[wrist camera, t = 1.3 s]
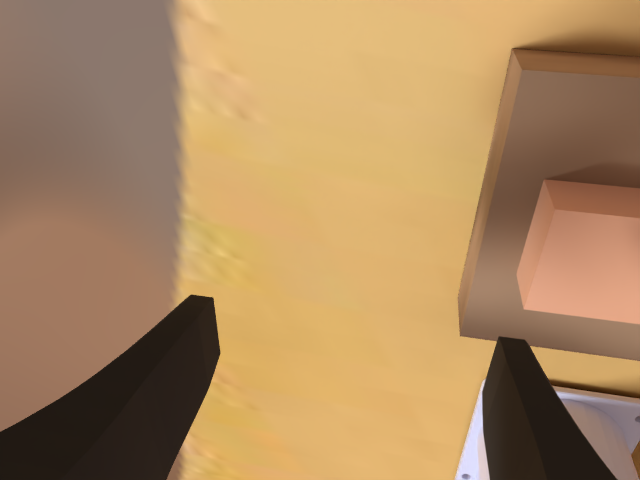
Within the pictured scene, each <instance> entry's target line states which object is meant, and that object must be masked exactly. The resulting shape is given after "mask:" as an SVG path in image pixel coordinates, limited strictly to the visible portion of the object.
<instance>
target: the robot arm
mask: <svg viewBox="0 0 640 480" xmlns="http://www.w3.org/2000/svg"><path fill="white" fill-rule="evenodd" d="M219 356H220V346H219V339H218V331H217V323H216V315H215V307H214V299H213V298H212V297H205V296H197V295H190V296H189V297H187V298H186V299H185V300H184V301H183V302H182V303H181V304H179V305H178V306H177V307H176V308H175V309H174V310H173V311H172V312H170V313H169V314H168V315H167V316H166V317H165V318H164V319H163V320H162V321H160V322H159V323H158V324H157V325H156V326H155V327H154V328H152V329H151V330H150V331H149V332H148V333H147V334H145V335H144V336H143V337H142V338H141V339H139V340H138V341H137V342H136V343H135V344H134V345H132V346H131V347H130V348H129V349H128V350H126V351H125V352H124V353H123V354H121V355H120V356H119V357H117V358H116V359H115V360H114V361H112V362H111V363H110V364H108V365H107V366H106V367H104V368H103V369H102V370H101V371H99V372H98V373H97V374H95V375H94V376H92V377H91V378H90V379H88V380H87V381H85V382H84V383H82V384H81V385H79V386H78V387H77V388H75V389H73V390H72V391H71V392H69V393H68V394H66V395H64V396H63V397H61V398H60V399H58V400H56V401H55V402H53V403H51V404H50V405H48V406H46V407H45V408H43V409H41V410H39V411H37V412H36V413H34V414H32V415H30V416H29V417H27V418H25V419H24V420H22V421H20V422H18V423H16V424H15V425H13V426H11V427H9V428H7V429H5V430H3V431H1V432H0V480H166V479H167V477H168V474H169V472H170V469H171V467H172V465H173V463H174V461H175V459H176V457H177V454H178V452H179V450H180V448H181V446H182V444H183V442H184V440H185V438H186V436H187V434H188V431H189V429H190V427H191V425H192V423H193V421H194V419H195V417H196V415H197V413H198V410H199V408H200V406H201V404H202V402H203V400H204V398H205V395H206V393H207V391H208V389H209V386H210V383H211V380H212V377H213V374H214V371H215V368H216V365H217V362H218V359H219ZM639 441H640V399H638V398H631V397H625V396H618V395H611V394H604V393H598V392H591V391H584V390H577V389H571V388H564V387H557V386H552V385H551V383H550V381H549V380H548V378H547V376H546V375H545V373H544V371H543V369H542V368H541V366H540V364H539V362H538V361H537V359H536V357H535V355H534V353H533V351H532V350H531V348H530V346H529V344H528V343H527V342H526V340H524V339H517V338H509V337H502V336H499V337H498V340H497V344H496V347H495V350H494V354H493V357H492V360H491V364H490V367H489V370H488V374H487V377H486V379H485V380H483V382H482V385H481V388H480V392H479V395H478V399H477V402H476V406H475V409H474V413H473V416H472V420H471V423H470V427H469V430H468V434H467V437H466V441H465V444H464V448H463V451H462V455H461V458H460V462H459V465H458V469H457V472H456V476H455V479H454V480H639V477H638V474H637V471H636V468H635V465H634V463H633V460H632V457H631V454H632V453H633V451H634V449H635V447H636V446H637V444H638V442H639Z"/></svg>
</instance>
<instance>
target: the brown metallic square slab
mask: <svg viewBox="0 0 640 480" xmlns="http://www.w3.org/2000/svg"><path fill="white" fill-rule="evenodd" d="M544 179H547V180H557V181H568V182H578V183H588V184H599V185H609V186H619V187H630V188H640V57H636V56H620V55H605V54H589V53H573V52H558V51H542V50H526V49H512V51H511V56H510V60H509V65H508V69H507V74H506V79H505V83H504V88H503V92H502V97H501V102H500V106H499V111H498V115H497V120H496V125H495V129H494V134H493V138H492V143H491V147H490V152H489V157H488V161H487V166H486V170H485V175H484V180H483V184H482V189H481V193H480V198H479V203H478V207H477V212H476V216H475V221H474V226H473V230H472V235H471V239H470V244H469V249H468V253H467V258H466V262H465V267H464V272H463V276H462V281H461V285H460V290H459V295H458V310H459V329H460V336H463V337H470V338H478V339H485V340H492V341H497V340H498V337H499V336H502V337H509V338H517V339H524V340H526V342H527V343H528V344H529V346H535V347H543V348H550V349H557V350H564V351H571V352H579V353H586V354H593V355H600V356H608V357H615V358H622V359H629V360H636V361H640V324H633V323H625V322H618V321H610V320H602V319H595V318H587V317H579V316H571V315H564V314H556V313H548V312H541V311H533V310H525V309H523V304H522V299H521V294H520V289H519V284H518V280H517V275H516V274H517V270H518V267H519V263H520V260H521V257H522V253H523V250H524V246H525V243H526V239H527V236H528V232H529V229H530V226H531V222H532V219H533V215H534V212H535V208H536V205H537V201H538V198H539V195H540V191H541V188H542V184H543V181H544Z"/></svg>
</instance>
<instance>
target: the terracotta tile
mask: <svg viewBox="0 0 640 480" xmlns="http://www.w3.org/2000/svg"><path fill="white" fill-rule="evenodd" d="M516 275H517V280H518V284H519V289H520V294H521V299H522V304H523V309H525V310H533V311H541V312H548V313H556V314H564V315H571V316H579V317H587V318H595V319H602V320H610V321H618V322H625V323H633V324H640V188H630V187H619V186H609V185H599V184H588V183H578V182H568V181H557V180H547V179H544V181H543V184H542V188H541V191H540V195H539V198H538V201H537V205H536V208H535V212H534V215H533V219H532V222H531V226H530V229H529V232H528V236H527V239H526V243H525V246H524V250H523V253H522V257H521V260H520V263H519V267H518V270H517V274H516Z"/></svg>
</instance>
